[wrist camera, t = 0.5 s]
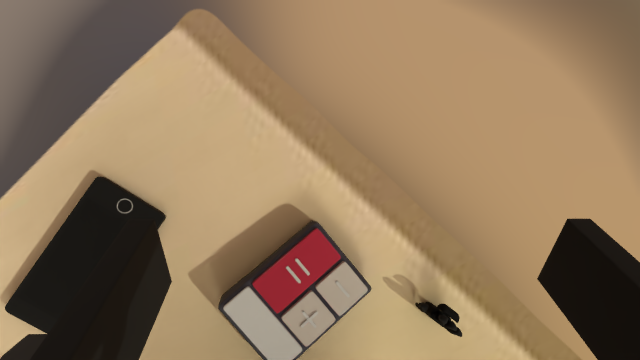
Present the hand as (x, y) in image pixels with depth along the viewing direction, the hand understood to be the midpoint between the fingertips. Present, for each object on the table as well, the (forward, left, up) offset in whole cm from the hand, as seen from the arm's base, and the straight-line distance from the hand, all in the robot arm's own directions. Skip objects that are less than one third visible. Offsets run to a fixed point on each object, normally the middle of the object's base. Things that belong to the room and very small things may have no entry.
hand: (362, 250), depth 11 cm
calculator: (-12, +3, -33) cm, 35 cm away
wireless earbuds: (-20, -14, -33) cm, 41 cm away
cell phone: (-1, +25, -33) cm, 41 cm away
